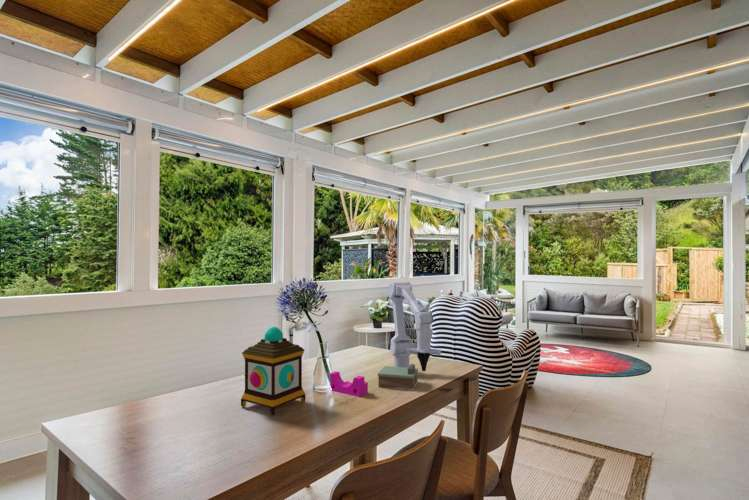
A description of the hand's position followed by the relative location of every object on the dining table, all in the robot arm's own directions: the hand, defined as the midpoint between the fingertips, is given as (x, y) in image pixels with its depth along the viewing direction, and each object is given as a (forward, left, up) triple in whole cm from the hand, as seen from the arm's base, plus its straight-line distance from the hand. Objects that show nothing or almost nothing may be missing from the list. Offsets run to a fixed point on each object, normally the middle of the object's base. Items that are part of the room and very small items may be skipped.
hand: (423, 370), depth 185 cm
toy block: (+15, -30, -8) cm, 34 cm away
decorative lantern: (+37, -52, -7) cm, 65 cm away
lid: (0, -11, -2) cm, 11 cm away
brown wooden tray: (0, -11, -7) cm, 13 cm away
